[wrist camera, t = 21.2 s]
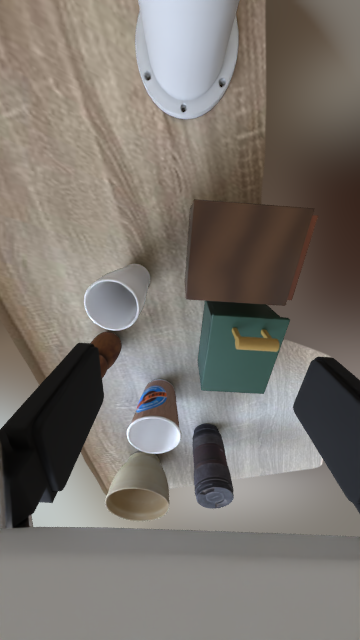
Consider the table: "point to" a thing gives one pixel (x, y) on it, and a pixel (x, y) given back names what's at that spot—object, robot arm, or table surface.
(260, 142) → the table surface
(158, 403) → the coffee cup
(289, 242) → the cabinet
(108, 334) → the wooden figurine
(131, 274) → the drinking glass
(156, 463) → the planter bowl
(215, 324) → the lid
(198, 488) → the camera lens
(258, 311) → the chest
